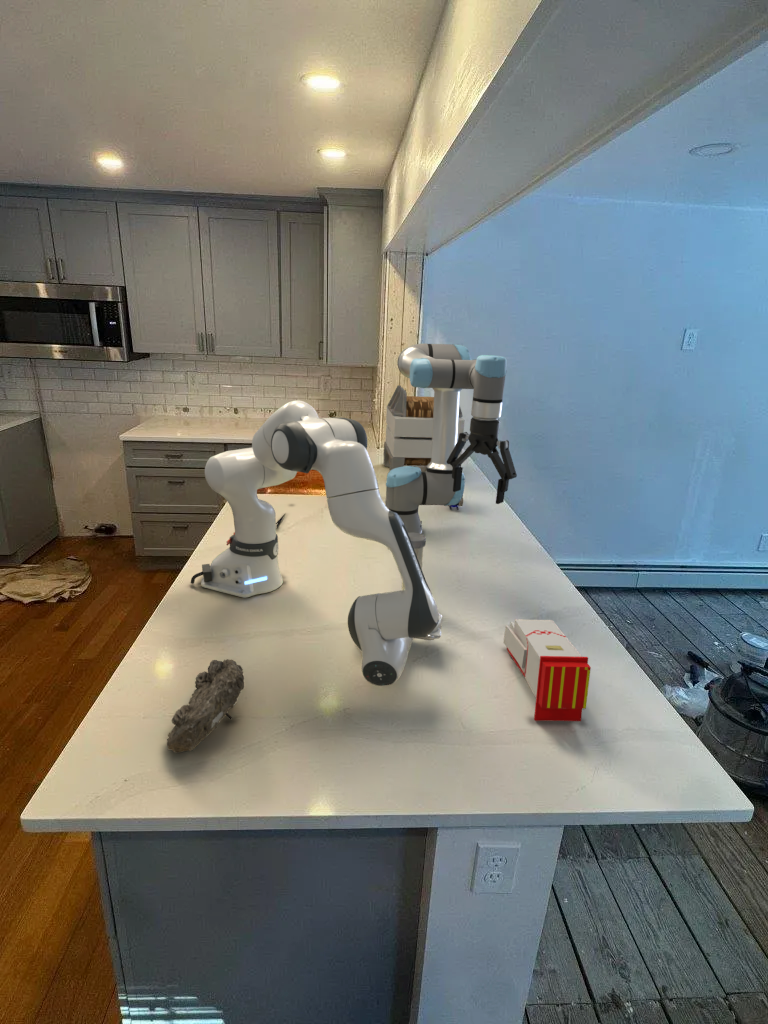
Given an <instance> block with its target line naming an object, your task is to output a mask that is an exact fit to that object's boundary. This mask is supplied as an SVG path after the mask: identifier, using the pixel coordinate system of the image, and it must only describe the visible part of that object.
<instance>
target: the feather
mask: <svg viewBox="0 0 768 1024" xmlns="http://www.w3.org/2000/svg"><path fill="white" fill-rule="evenodd" d="M285 515H286V513H283V515H281V517H280V518H279V519H278V520H277V521H276V531H277V530H278V528H279V526H280V525H281V522H282V520H283V519H284V517H285Z"/></svg>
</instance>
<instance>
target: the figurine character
mask: <svg viewBox="0 0 768 1024" xmlns="http://www.w3.org/2000/svg"><path fill="white" fill-rule="evenodd" d="M463 496H464V495H463ZM463 496H462V498H461V500H460V502H459V503H458V504H456V505H447V507H449V510H450V511H452V510H453V509H452V508H456V510H457V511H459V510H460V508H459V507H463V505H464V498H463Z"/></svg>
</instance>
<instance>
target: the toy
mask: <svg viewBox="0 0 768 1024" xmlns="http://www.w3.org/2000/svg"><path fill="white" fill-rule="evenodd" d="M503 644H504V645H505V647H506V650H507V653H508V654H509V656H510V657H511V658H512V660H513V662H514V663H515V665H516V667H517V668H518V669H519V671H520V672H521V674H522V676H523V677H524V678H525V681H526V683H527V684H528V686H529V688H530V690H531V692H532V694H533V695H534V697H535V706H534V717H533V720H534V721H536V722H539V721H540V722H582V716H583V715H582V714H583V709H587V704H588V703H587V701H588V695H589V685H590V677H591V669H592V666H590V664H589V657H588V656H582V654H581V653H580V652H579V651H578V649H576V647H575V646H574V645H573V643H572V642H571V641H570V640H569V639H568V637H567V636H566V635H565V634H564V633H563V631H562V630H561V629H560V628H559V626H558V625H557V624H556V623H555V621H554V620H553V619H524V618H523V619H521V618H518V619H516V618H515V619H514V621H510V622H509V624H506V625H505V629H504V637H503Z"/></svg>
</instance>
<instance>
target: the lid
mask: <svg viewBox="0 0 768 1024" xmlns="http://www.w3.org/2000/svg"><path fill="white" fill-rule="evenodd" d="M408 535H409V537H410V540H411V542H412V545H413V548H414V549H418V548H423V549H424V547H425V546H426V543H427V537H426V536H425V534H423V533H422V534H420V533H408Z"/></svg>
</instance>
